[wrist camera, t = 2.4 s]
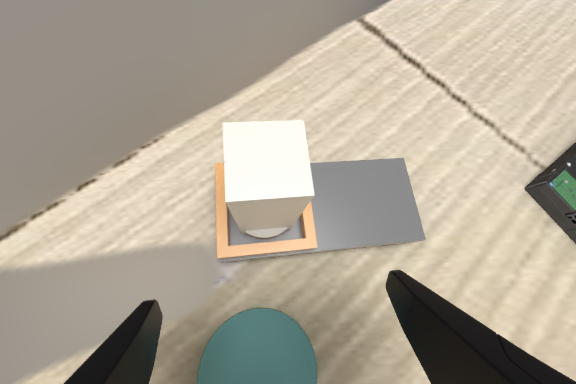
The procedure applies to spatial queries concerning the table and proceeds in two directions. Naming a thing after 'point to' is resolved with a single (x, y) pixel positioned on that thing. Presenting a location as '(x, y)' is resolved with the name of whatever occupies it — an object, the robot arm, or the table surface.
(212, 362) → the mat
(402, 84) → the table surface
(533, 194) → the disk drive
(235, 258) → the framed tray with cover
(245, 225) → the tall white square post
